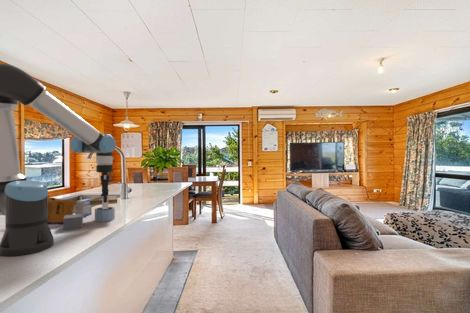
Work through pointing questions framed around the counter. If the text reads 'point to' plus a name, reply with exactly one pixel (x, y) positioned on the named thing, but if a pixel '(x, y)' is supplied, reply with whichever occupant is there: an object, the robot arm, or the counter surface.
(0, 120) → the robot arm
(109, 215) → the bowl
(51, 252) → the counter surface
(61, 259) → the counter surface
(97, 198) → the walnut board
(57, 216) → the coffee package
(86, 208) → the medicine box
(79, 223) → the grey block
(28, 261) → the counter surface
